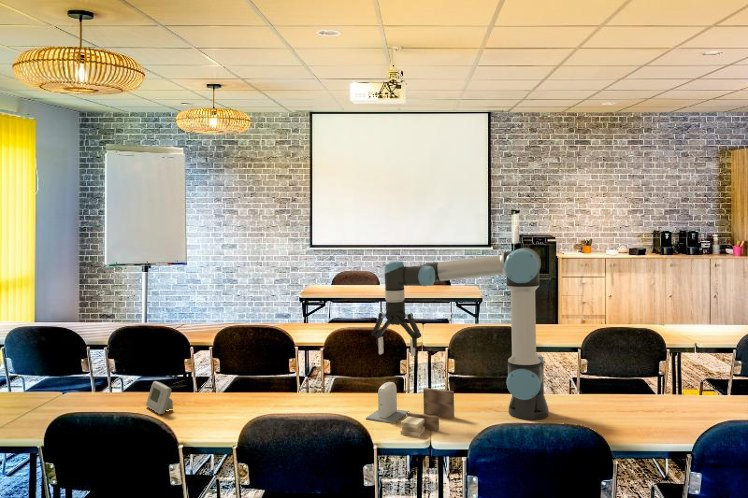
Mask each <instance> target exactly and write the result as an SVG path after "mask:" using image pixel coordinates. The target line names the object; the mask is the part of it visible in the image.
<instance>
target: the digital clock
mask: <svg viewBox="0 0 748 498" xmlns="http://www.w3.org/2000/svg"><path fill="white" fill-rule="evenodd" d="M171 393H172V388H171V387H169V386H168V385H166V384H164V383H162V382H160V381H156V380H154V381H153V382H152V384H151V387H150V390H149V393H148V397H147V400H146V402H145V403H146V404H145V406H146V407H147V408H148V409H150V410H151V409H152V410H154V411H155V412H154V411H153V412H154V413H156V412H157V413H158V415H160V414H163V415H164V414H165V413H166V412H165V411H166V410H169V409H173V410H174V403H173V399H172V398H171ZM152 410H151V411H152ZM157 413H156V414H157Z"/></svg>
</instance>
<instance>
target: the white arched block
mask: <svg viewBox="0 0 748 498" xmlns="http://www.w3.org/2000/svg"><path fill="white" fill-rule="evenodd" d="M397 393H398V392H397V384H395V382H392V381H388V382H385V383H383V384H382V385H380V387H379V388H378V392H377V400H378V401H377V403H378V404H377V406H378V408H377V410H378V415H379V417H380V418H387V417H389V416H391V415H392V414H393V413H395V412H396V411H397V410H398V402H397V401H398V396H397V395H398V394H397Z"/></svg>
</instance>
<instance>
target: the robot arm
mask: <svg viewBox="0 0 748 498" xmlns="http://www.w3.org/2000/svg"><path fill="white" fill-rule="evenodd" d="M541 260H542V259H541V257H540V255H539V254H538V252H537V251H535V250H534V249H533V248H530V247H520V248H518V249H514V250H511V251H504V252H502V254H499V255H492V256H483V257H482V256H481V257H473V258H464V259H455V260H449V261H448V260H446V261H440V262H427V263H424V264H421V265H416V266H405V265H404V262H403V261H401V260H394V261H387V262H385V263H384V273H383V274H384V294H385V296H384V297H385V312H379V313H378V316H377V320H376V322H375V325H374V328H373V330H372V332H371V336H372V337H375V339H376V341H375V342H376V346H378V355H382V354H384V336H382V335H383V334H384V333H385V331H386V330H387V329H388V328H389V327H390V325H392V326H393V325H394V326H395V325H396V326H401V327H402V328H403V329H404V330H405V332H406V333H407V334H408V335H409V337H410V338H411V339H410V357H412V358H413V357H414V356H416V348H417V347H418V339H420V338H421V337H423V336H422V333H421V331H420V329H419V327H418V325H417V323H416V321H415V319H414V314H413V313H412V312H410V313H406V303H405V301H404V300H405V299H406V298H405V286H406V287H409V286H411V287H413V286H414V287H417V286H418V287H419V286H420V287H427V286H428V287H429V286H430V287H431V286H433V285H434V284H435V282H444V281H454V280H462V279H472V278H473V279H474V278H482V277H483V278H484V277H492V276H494V277H495V276H501V275H503V276H505V280H506V288H508V289H509V290H510V307H511V308H510V311H511V312H510V313H511V314H510V315H511V319H510V320H511V321H510V323H511V356H510V357H509V358H508V359H507V377H506V386H507V387H506V388H507V389H508V391H509V393H510V394H511V398H510V400H509V404H508V414H509V415H510V416H511V417H514V418H517V419H521V420H529V421H530V420H542V419H545V418H547V417H549V416H550V415H549V410H550V409H549V405H548V403H547V400H546V396H545V383H544V381H545V380H544V379H545V378H544V374H545V373H544V372H545V371H544V370H545V368H544V366H545V360H544V357H543V356H542V355H538V354H537V335H536V334H537V329H536V327H537V326H536V325H537V323H536V319H537V315H536V290H537V289H538V288H540V270H541V266H542V261H541ZM384 318H385V319H386V321H385V323H384V324H383V326H382V327H381V325H382V322H383V321H384ZM406 319H407V320H408V322H407V321H406ZM408 323H409V324H410V326H409V324H408ZM380 327H381V328H380Z"/></svg>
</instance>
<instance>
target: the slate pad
mask: <svg viewBox="0 0 748 498" xmlns="http://www.w3.org/2000/svg"><path fill="white" fill-rule="evenodd" d="M408 412H409V413H410V411H409V410H403V409H397V411H396V412H395V413H393V414H392V415H391V416H389V417H387V418H380V417H379V415H378V409H377V410H376V411H374V412H372V413H371V414H369V415H367V416H366V417H365V420H367V421H374V422H381V423H388V424H389V423H390V424H396V423H397V422H398V421H400V420H401V419H403V418H404V417H405V416H407V415H406V414H407V413H408ZM403 416H404V417H403ZM402 417H403V418H402Z"/></svg>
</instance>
